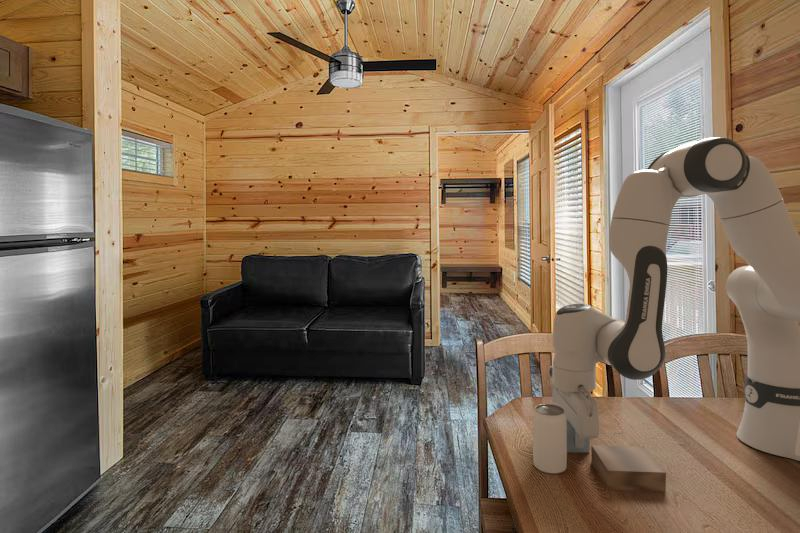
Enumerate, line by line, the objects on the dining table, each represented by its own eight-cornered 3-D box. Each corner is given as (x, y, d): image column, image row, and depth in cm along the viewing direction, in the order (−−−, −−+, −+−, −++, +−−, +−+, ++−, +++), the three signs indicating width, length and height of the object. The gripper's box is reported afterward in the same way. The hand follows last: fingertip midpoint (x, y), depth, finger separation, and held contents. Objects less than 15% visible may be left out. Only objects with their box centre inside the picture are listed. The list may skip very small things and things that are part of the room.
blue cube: (581, 441, 102) (581, 420, 101) (589, 452, 97) (589, 429, 96) (559, 441, 102) (559, 420, 102) (566, 452, 97) (566, 429, 97)
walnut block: (642, 465, 92) (642, 446, 91) (665, 493, 82) (665, 472, 81) (591, 463, 93) (591, 445, 92) (608, 491, 83) (608, 470, 83)
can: (556, 456, 95) (556, 401, 94) (573, 472, 89) (573, 414, 88) (527, 460, 94) (527, 404, 93) (542, 476, 88) (542, 417, 87)
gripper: (608, 395, 88) (607, 463, 89) (573, 364, 108) (573, 420, 109) (575, 395, 88) (575, 463, 89) (546, 364, 108) (546, 420, 110)
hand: (573, 439), depth 99 cm, fingers open, 5 cm apart
